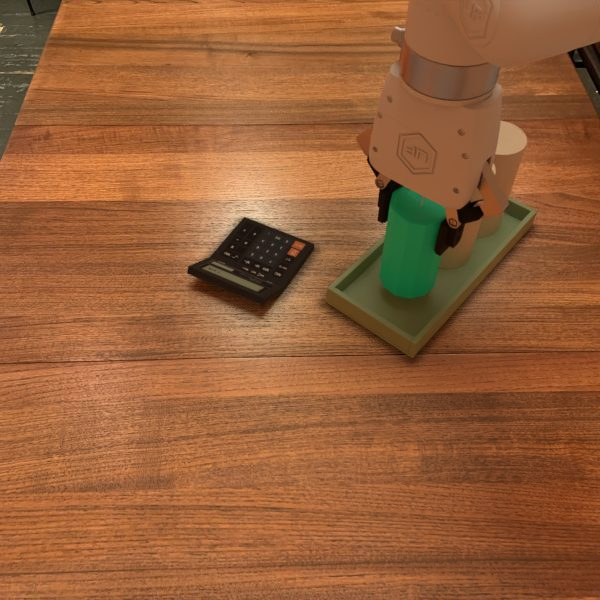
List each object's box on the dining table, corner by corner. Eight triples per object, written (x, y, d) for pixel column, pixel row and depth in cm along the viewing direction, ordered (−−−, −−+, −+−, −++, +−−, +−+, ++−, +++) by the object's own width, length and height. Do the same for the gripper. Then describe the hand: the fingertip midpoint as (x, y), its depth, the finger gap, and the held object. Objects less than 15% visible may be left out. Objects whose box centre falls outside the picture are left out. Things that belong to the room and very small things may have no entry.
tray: (531, 226, 78) (537, 210, 76) (412, 358, 66) (415, 344, 64) (451, 185, 83) (455, 169, 81) (326, 302, 71) (326, 287, 69)
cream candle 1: (480, 247, 75) (507, 164, 66) (452, 277, 72) (476, 195, 63) (436, 223, 78) (455, 140, 68) (407, 251, 75) (423, 168, 65)
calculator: (314, 249, 76) (314, 230, 73) (263, 319, 69) (262, 301, 67) (244, 222, 78) (243, 203, 76) (189, 287, 72) (186, 268, 70)
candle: (447, 284, 69) (471, 198, 59) (400, 306, 67) (417, 221, 57) (413, 248, 72) (430, 161, 63) (367, 268, 70) (378, 181, 61)
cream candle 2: (509, 218, 78) (537, 134, 69) (483, 245, 75) (509, 162, 66) (465, 195, 81) (487, 112, 71) (439, 221, 78) (458, 138, 69)
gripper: (331, 43, 52) (324, 211, 66) (528, 129, 45) (473, 297, 59) (387, 7, 55) (368, 174, 69) (577, 83, 48) (514, 251, 62)
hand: (416, 229), depth 64 cm, fingers closed on candle, 5 cm apart
